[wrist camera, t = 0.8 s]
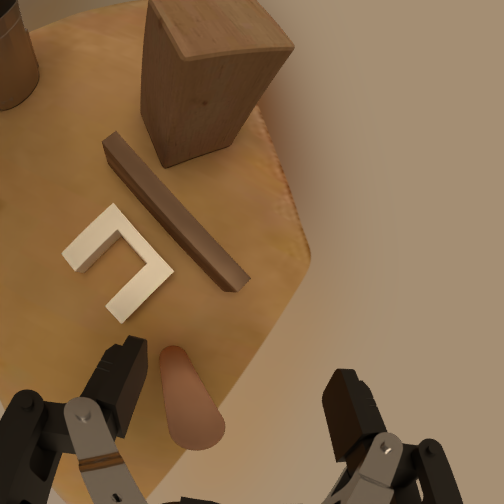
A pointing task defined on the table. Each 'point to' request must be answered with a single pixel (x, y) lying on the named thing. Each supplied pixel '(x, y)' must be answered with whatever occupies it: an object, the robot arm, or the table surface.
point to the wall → (173, 215)
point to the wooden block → (205, 72)
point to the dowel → (188, 403)
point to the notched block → (99, 240)
